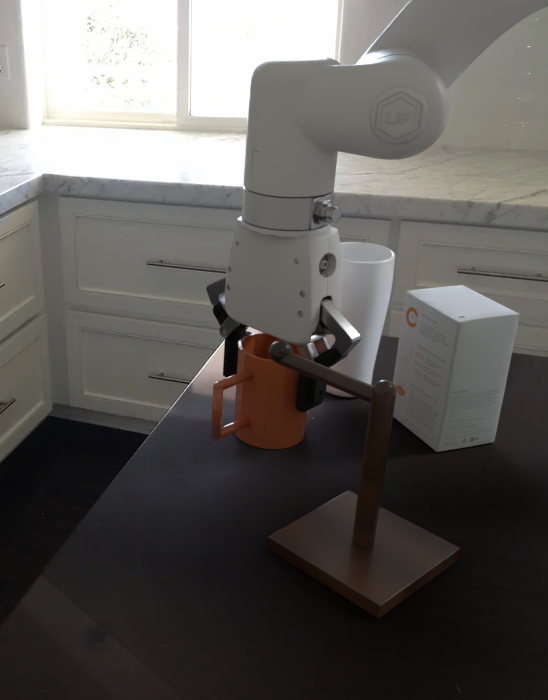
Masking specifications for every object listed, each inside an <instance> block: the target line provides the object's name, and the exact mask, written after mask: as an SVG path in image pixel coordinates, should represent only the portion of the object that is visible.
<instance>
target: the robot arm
mask: <svg viewBox="0 0 548 700" xmlns="http://www.w3.org/2000/svg"><path fill="white" fill-rule="evenodd" d="M546 7H548V0H409V1H408V2H407V3H406V4H405V5H404V6H403V8H402V9H401V10H400V11H399V12H398V13H397V14H396V16H395V17H394V18H393V19H392V20H391V22H390V23H389V24H388V25H387V26H386V27H385V29H384V30H383V31H382V32H381V33H380V34H379V36H378V37H377V38H376V39H375V40H374V41H373V43H371V44H370V46H369V47H368V48H367V50H366V51H365V52H364V53H363V54H362V55H361V57H360V58H359V59H358V61H357V62H356V63H355V64H341V63H340V62H339V61H338V60H336V59H334V58H333V57H329V56H321V55H311V54H285V55H277V56H276V55H273V56H269V57H265V58H263V59H261V60H259V61H258V62H257V63H256V64H255V65H254V67H253V68H252V70H251V72H250V76H249V77H250V78H249V85H248V86H249V87H248V100H247V101H248V102H247V119H246V135H245V154H244V169H243V170H244V171H243V186H242V201H241V202H242V203H241V215H240V216H239V217H238V218H237V220H236V223H235V226H234V230H233V233H232V238H231V243H230V247H229V253H228V259H227V266H226V273H225V277H222V278H220V279H217V280H216V281H213V282H211V283H209V284H207V285H206V287H205V288H206V289H205V290H206V294H207V297H208V299H209V301H210V304H211V306H212V313H213V316H214V317H215V319H216V321H217V323H218V325H219V329H218V332H219V335H220V336H221V337H222V338H223V339H224V343H223V345H224V347H223V366H222V376H223V377H224V378H227V377H230V376H232V375H235V374H236V368H237V351H238V342H239V341H240V340H241V339H242V338H243V337H244V336H247V335H249V334H252V333H253V332H251V331H249V330H248V329H249V328H251V329H254V330H256V331H258V332H263V333H266V334H268V335H271V336H273V337H276V338H278V339H281V340H283V341H286V342H289V343H292V344H295V345H296V347H297V349H298V352H299V354H300V356H301V357H303V358H306V359H308V360H311V361H313V362H316V363H318V364H321V365H323V366H326V367H328V368H329V367H331V366H333V365H335V364H336V363H337V362H339V361H341V360H342V359H344V358H345V357H347V356H348V353H349V352H351V351H352V349H353V348H354V347H355V346H356V345H357V344H358V343H359V342H360V340H361V336H360V334H359V333H358V331H357V330H356V329H355V328H354V327H353V326H352V324H351V323H350V322H349V321H348V320H347V319H346V318H345V316H344V315H343V314H342V313H341V298H342V257H341V246H340V243H341V240H340V233H339V229H338V228H336V227H333V226H332V225H331V223H333V224H337V223H338V222H339V221H341V219H342V216H343V210H342V208H341V207H340V206H336V205H335V204H334V198H335V183H336V175H337V173H336V172H337V163H338V155H339V154H338V153H344V154H351V155H356V156H362V157H366V158H371V159H377V160H385V161H386V160H387V161H388V160H389V161H393V160H394V161H396V160H397V161H398V160H405V159H408V158H409V159H410V158H412V157H415V156H418V155H420V154H421V153H424V152H425V151H426V150H428V149H429V148H430V147H432V146H433V145H434V144H435V143H436V142H437V141H438V140H439V139H440V137H441V135H442V134H443V133H444V131H445V129H446V127H447V125H448V122H449V118H450V113H451V110H450V109H451V101H450V96H449V92H448V89H449V88H450V87H452V85H453V84H454V83H455V82H456V81H457V79H458V78H460V77H461V76H462V74H464V72H465V71H466V70H467V69H468V68H469V67H470V66H471V65H472V64H473V63H474V62H475V61H476V60H477V59H478V58H479V57H480V56H481V55H482V54H483V53H484V52H485V51H487V49H488V48H489V47H490V46H491V45H492V44H494V42H496V41H497V40H498V39H499V38H500V37H501V36H503V35H504V34H505V33H506V32H508V31H509V30H510V29H512V28H513V27H514V26H516V25H517V24H518V23H520V22H522V21H523V20H524V19H526V18H528V17H529V16H531V15H533V14H535V13H537V12H539V11H541V10H543V9H544V8H546ZM331 334H333V335H334V337H335V342H334V344H333V346H332V347H331V346H330V343H329V341H328V339H327V336H326V335H331ZM312 343H313V344H314V347H315V350H316V352H317V355H316V352H315V350H314V348H312V347H313V344H312ZM311 344H312V345H311ZM326 387H327V384H324V383H322V382H319V381H317V380H315V379H312V378H310V377H308V376H305V375H303V374H300V373H299V377H298V388H297V398H296V408H297V410H298V411H300V412H302V413H303V412H305V411H307V412H308V411H310V410H312V409H314V408H316V407H318V406H320V405H323V403H324V400H325V398H326V394H327V392H326Z"/></svg>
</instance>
